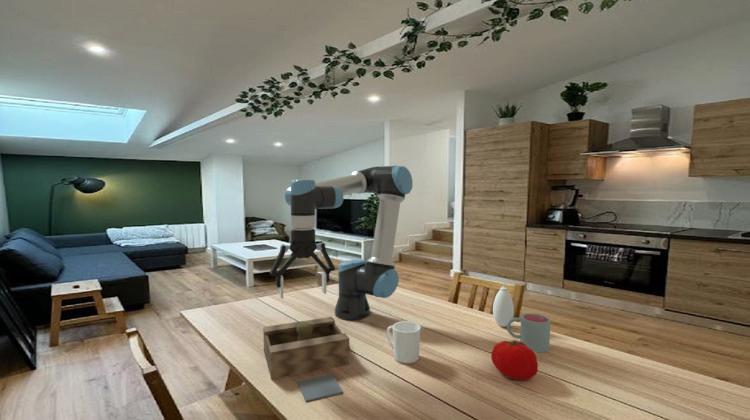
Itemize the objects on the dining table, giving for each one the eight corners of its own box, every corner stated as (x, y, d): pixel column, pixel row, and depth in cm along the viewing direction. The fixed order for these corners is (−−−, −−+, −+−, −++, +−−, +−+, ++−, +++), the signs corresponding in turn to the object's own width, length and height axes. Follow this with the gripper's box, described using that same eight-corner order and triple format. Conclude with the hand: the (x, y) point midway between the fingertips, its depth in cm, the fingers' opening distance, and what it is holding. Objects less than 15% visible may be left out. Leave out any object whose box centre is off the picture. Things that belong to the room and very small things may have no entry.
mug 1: (422, 353, 116) (423, 323, 116) (417, 367, 108) (417, 334, 107) (390, 348, 120) (390, 319, 119) (382, 361, 112) (382, 329, 111)
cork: (310, 362, 111) (309, 328, 110) (292, 360, 112) (291, 326, 111) (317, 353, 117) (316, 320, 116) (300, 351, 118) (299, 319, 117)
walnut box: (331, 338, 128) (331, 316, 128) (349, 363, 110) (349, 338, 110) (263, 350, 119) (263, 327, 118) (271, 379, 101) (270, 352, 100)
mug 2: (548, 343, 124) (549, 315, 124) (549, 354, 116) (550, 324, 115) (507, 336, 130) (508, 309, 129) (505, 346, 122) (506, 318, 121)
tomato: (534, 390, 96) (535, 354, 95) (486, 377, 102) (487, 342, 102) (540, 372, 105) (541, 338, 104) (496, 360, 112) (496, 329, 111)
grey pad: (332, 374, 104) (332, 373, 104) (342, 393, 94) (342, 391, 94) (297, 382, 100) (297, 380, 100) (305, 402, 90) (305, 400, 90)
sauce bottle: (491, 328, 137) (492, 282, 136) (493, 321, 144) (494, 277, 143) (513, 331, 134) (514, 284, 133) (513, 323, 141) (514, 279, 140)
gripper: (337, 226, 120) (337, 287, 121) (260, 228, 110) (261, 295, 111) (344, 228, 113) (344, 293, 114) (263, 231, 103) (263, 303, 104)
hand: (303, 294), depth 113 cm, fingers open, 13 cm apart
